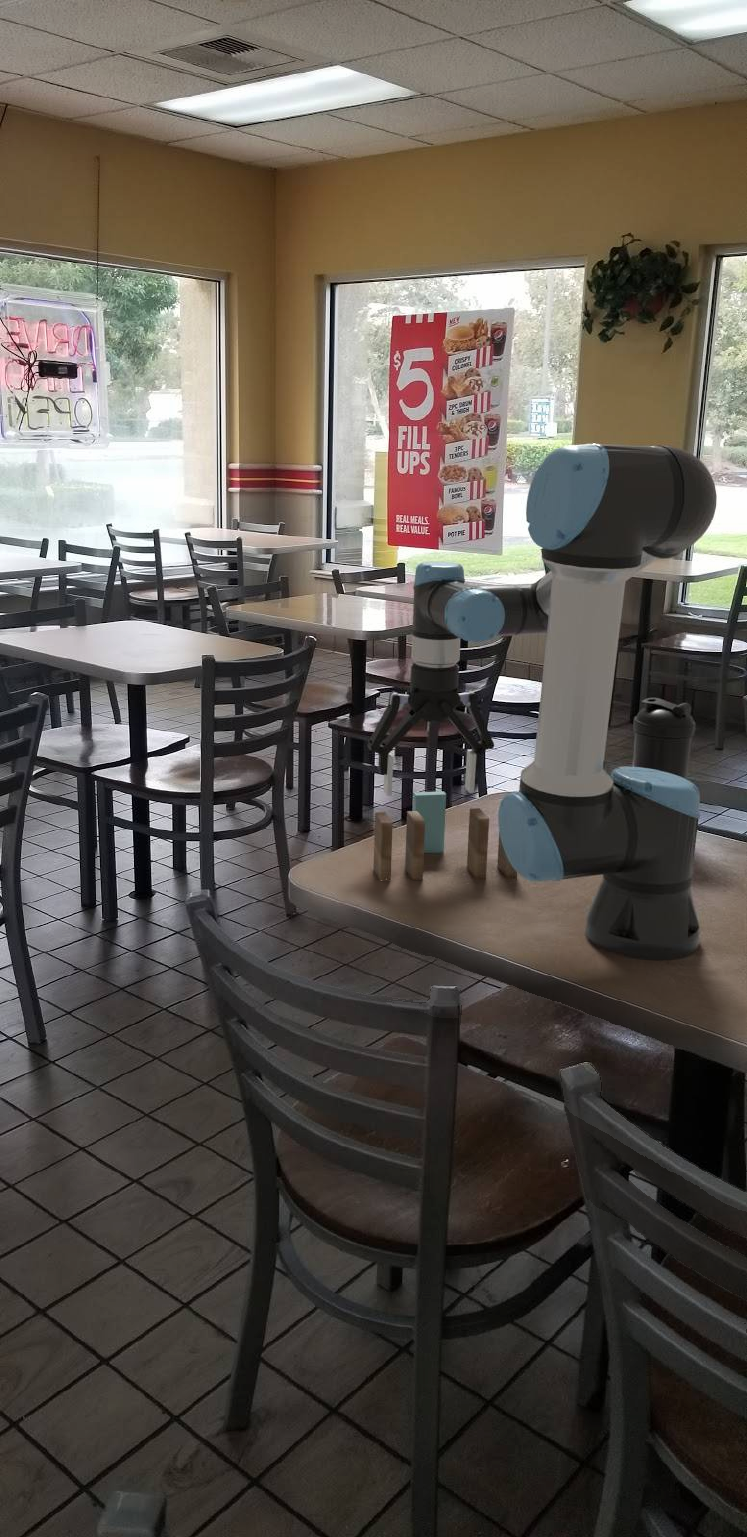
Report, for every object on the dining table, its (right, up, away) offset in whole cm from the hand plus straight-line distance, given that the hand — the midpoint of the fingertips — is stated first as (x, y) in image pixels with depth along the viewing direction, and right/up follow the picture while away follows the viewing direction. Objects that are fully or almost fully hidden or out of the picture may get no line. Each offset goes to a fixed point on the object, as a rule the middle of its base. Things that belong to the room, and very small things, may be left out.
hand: (428, 792), depth 194 cm
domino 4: (+7, -13, -7) cm, 16 cm away
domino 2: (-3, -13, -9) cm, 16 cm away
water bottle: (+40, -7, +16) cm, 44 cm away
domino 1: (-8, -13, -10) cm, 18 cm away
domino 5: (+12, -13, -6) cm, 18 cm away
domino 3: (0, -10, +2) cm, 10 cm away
